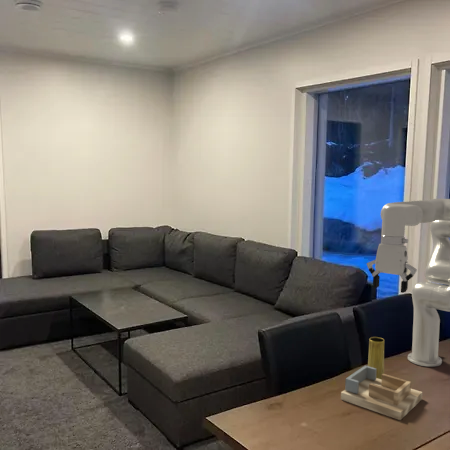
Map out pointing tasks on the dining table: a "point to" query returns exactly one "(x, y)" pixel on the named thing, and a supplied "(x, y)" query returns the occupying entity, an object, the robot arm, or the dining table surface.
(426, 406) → the dining table surface
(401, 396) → the board
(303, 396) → the dining table surface
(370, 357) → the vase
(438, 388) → the dining table surface
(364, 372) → the grey bracket
